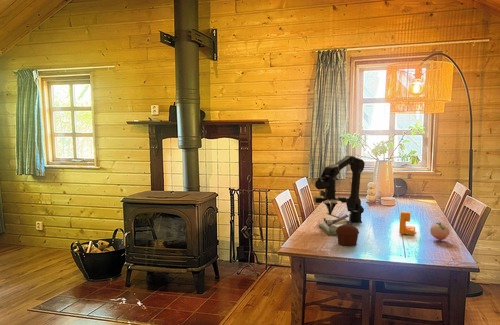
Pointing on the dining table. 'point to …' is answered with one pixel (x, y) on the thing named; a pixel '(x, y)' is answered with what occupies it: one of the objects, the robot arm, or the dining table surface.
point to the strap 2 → (337, 220)
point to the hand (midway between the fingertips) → (329, 214)
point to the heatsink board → (332, 226)
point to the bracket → (403, 228)
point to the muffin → (347, 235)
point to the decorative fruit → (439, 231)
